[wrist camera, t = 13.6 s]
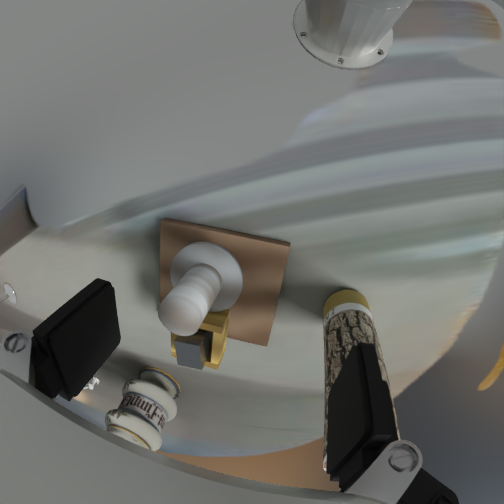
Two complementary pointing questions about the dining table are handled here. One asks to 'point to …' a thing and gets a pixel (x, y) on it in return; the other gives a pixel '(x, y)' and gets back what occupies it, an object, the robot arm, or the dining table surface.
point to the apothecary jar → (145, 408)
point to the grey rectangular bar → (193, 348)
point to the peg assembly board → (218, 284)
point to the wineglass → (9, 294)
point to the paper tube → (346, 340)
